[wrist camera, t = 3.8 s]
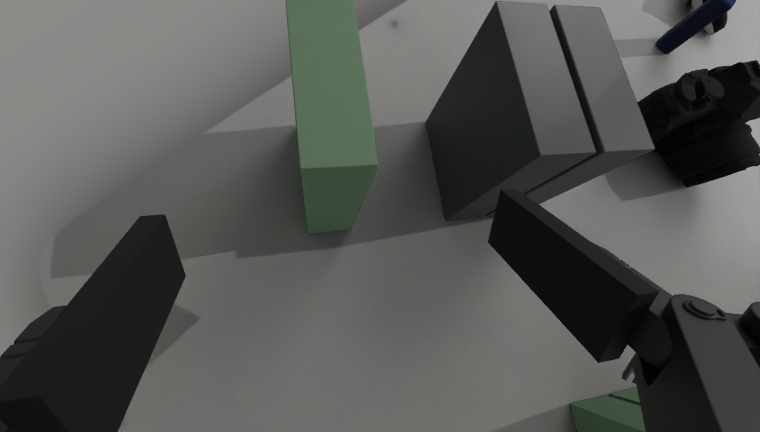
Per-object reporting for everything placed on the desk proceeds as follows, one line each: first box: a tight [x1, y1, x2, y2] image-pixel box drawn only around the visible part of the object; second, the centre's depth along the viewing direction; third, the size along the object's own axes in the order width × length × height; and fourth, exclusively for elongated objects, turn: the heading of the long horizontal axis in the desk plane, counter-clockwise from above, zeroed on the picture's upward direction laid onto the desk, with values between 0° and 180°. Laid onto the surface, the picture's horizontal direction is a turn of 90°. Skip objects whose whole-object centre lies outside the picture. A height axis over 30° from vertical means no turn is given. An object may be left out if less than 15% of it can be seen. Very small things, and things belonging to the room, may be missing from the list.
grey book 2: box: [486, 5, 655, 217], centre depth 25 cm, size 4×10×13 cm, turn 8°
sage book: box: [286, 0, 378, 234], centre depth 22 cm, size 4×10×13 cm, turn 8°
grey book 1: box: [426, 1, 596, 221], centre depth 24 cm, size 4×10×13 cm, turn 8°
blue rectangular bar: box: [656, 0, 736, 54], centre depth 38 cm, size 2×2×7 cm
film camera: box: [638, 60, 760, 188], centre depth 32 cm, size 15×10×9 cm, turn 105°
